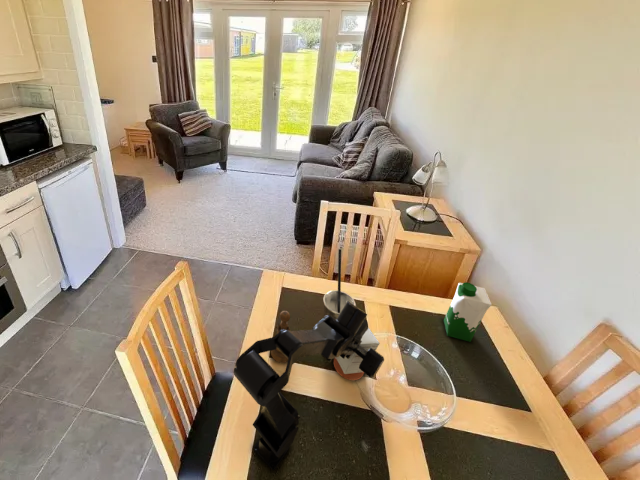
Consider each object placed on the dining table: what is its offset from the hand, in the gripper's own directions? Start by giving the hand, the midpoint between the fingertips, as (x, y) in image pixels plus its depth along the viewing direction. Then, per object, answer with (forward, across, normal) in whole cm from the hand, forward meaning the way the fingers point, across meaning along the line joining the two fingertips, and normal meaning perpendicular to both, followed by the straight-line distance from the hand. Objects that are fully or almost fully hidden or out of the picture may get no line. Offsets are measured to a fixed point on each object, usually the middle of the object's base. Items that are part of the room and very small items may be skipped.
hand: (356, 345), depth 94 cm
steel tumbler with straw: (+9, +11, +3) cm, 14 cm away
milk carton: (+34, -17, -21) cm, 43 cm away
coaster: (+4, 0, +7) cm, 8 cm away
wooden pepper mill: (-5, +17, +16) cm, 24 cm away
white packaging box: (+4, 0, +6) cm, 7 cm away
